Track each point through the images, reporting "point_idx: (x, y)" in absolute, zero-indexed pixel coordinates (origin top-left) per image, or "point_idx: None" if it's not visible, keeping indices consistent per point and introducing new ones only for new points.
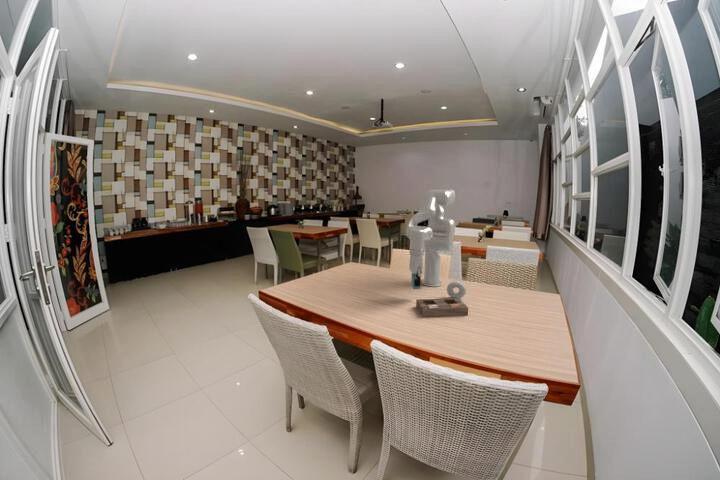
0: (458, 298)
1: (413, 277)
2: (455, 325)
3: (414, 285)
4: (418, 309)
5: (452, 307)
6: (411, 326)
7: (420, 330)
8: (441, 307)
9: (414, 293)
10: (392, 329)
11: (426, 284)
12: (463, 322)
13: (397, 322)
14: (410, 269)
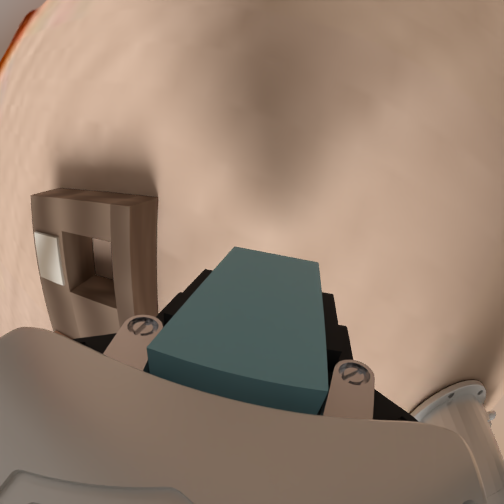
0: None
1: (176, 318)
2: (27, 275)
3: (209, 271)
4: (113, 193)
5: (56, 331)
6: (24, 120)
7: (8, 146)
8: (48, 290)
9: (389, 292)
10: (30, 56)
11: (441, 396)
12: (44, 311)
13: (51, 69)
14: (325, 451)
